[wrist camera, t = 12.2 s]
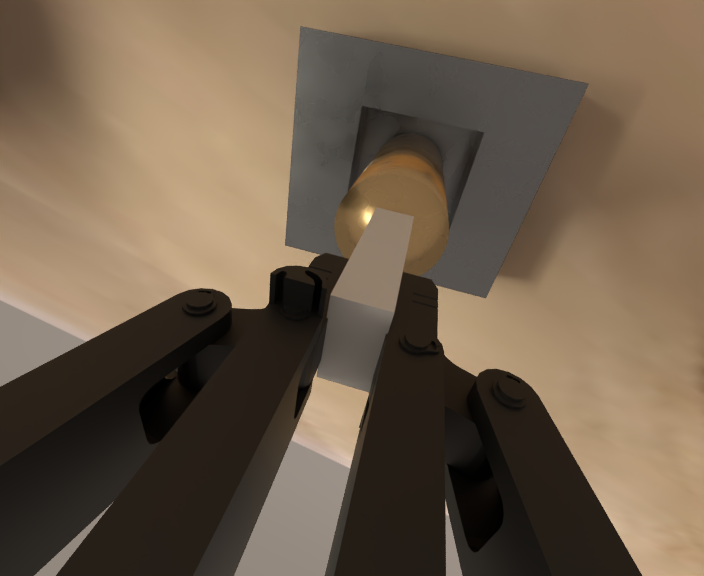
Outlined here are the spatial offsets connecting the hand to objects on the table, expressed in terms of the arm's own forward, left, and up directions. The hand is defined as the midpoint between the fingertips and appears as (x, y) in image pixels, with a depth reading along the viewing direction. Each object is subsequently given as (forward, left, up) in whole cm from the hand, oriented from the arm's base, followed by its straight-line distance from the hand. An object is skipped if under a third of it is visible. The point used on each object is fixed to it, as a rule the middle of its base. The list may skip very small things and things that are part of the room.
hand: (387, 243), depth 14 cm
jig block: (0, 0, -14) cm, 14 cm away
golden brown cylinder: (0, 0, -13) cm, 13 cm away
